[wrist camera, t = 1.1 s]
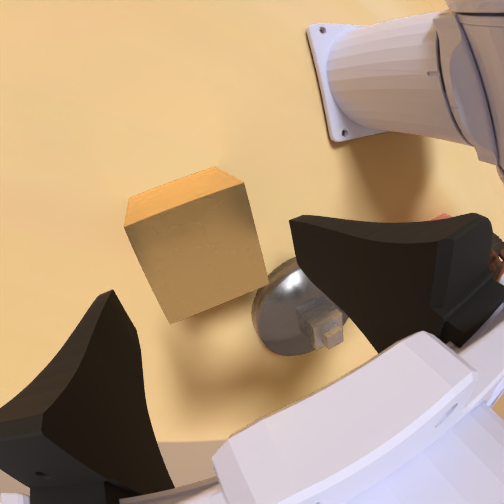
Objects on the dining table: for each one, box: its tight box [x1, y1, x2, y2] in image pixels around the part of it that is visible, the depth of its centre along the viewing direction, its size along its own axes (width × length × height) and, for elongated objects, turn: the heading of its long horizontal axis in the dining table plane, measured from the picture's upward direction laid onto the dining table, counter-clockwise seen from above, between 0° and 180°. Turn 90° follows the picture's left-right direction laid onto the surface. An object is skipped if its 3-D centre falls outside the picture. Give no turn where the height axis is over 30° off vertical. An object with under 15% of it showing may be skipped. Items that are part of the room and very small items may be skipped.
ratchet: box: [252, 214, 451, 356], centre depth 21 cm, size 22×8×5 cm, turn 104°
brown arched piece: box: [487, 233, 504, 282], centre depth 29 cm, size 12×10×8 cm
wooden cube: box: [124, 167, 269, 324], centre depth 14 cm, size 5×5×5 cm
